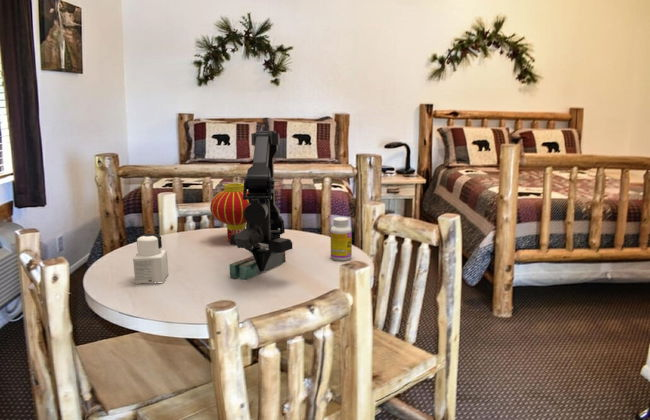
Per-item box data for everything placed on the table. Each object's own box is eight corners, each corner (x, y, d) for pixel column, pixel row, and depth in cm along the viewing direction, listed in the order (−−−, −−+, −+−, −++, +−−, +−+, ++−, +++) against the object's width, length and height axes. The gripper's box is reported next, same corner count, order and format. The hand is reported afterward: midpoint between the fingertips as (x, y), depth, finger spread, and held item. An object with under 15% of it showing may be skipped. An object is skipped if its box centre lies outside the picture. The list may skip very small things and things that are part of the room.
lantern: (201, 242, 196) (196, 157, 190) (236, 232, 210) (232, 152, 203) (237, 249, 186) (233, 160, 180) (270, 238, 200) (268, 155, 194)
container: (141, 275, 161) (138, 232, 158) (168, 274, 162) (165, 231, 159) (135, 284, 154) (131, 239, 151) (163, 283, 154) (160, 238, 151)
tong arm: (240, 279, 156) (239, 265, 155) (277, 262, 171) (277, 249, 170) (245, 280, 155) (245, 266, 154) (283, 263, 170) (282, 250, 169)
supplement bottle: (349, 261, 172) (349, 221, 169) (328, 260, 173) (328, 220, 171) (353, 255, 178) (353, 216, 176) (332, 254, 180) (332, 216, 177)
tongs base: (230, 277, 158) (229, 262, 157) (277, 259, 176) (277, 245, 175) (239, 280, 156) (239, 265, 155) (287, 261, 173) (287, 247, 173)
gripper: (215, 219, 154) (217, 273, 157) (266, 226, 144) (268, 284, 147) (242, 212, 163) (244, 263, 166) (292, 219, 153) (294, 273, 156)
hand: (261, 271), depth 158 cm, fingers closed
